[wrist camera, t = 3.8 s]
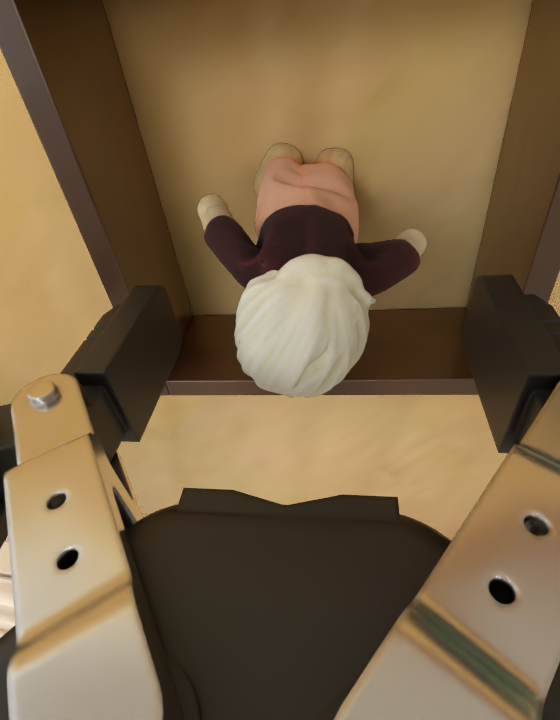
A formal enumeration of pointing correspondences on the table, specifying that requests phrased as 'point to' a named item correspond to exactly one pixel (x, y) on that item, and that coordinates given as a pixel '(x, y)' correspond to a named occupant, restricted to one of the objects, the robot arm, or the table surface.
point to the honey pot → (6, 591)
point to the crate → (150, 233)
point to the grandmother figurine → (304, 271)
